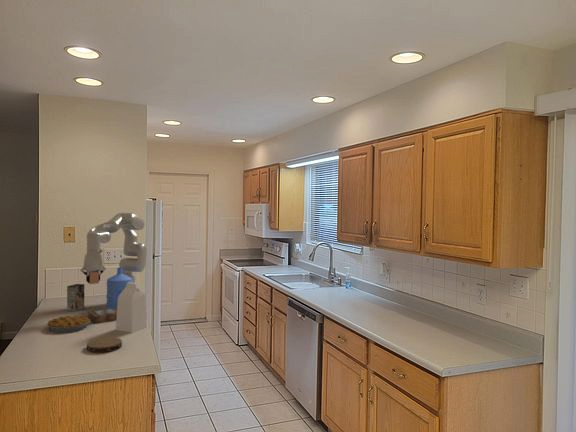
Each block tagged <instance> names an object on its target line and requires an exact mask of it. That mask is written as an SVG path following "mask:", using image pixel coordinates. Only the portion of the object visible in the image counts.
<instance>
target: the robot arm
mask: <svg viewBox="0 0 576 432" xmlns="http://www.w3.org/2000/svg"><path fill="white" fill-rule="evenodd" d="M144 228H145V221H144V219H143V218H142V217H141V216H139V215H137V214H136V213H131V212H118V213H117V214H115V215H114V216H113V217H112V218H111V219H109V220H108V221H106V222H103V223H100V224H97V225H95V226H94V227H92V228H91V229H89V231H88V232H87V234H86V254H85V255H84V260H83V266H82V267H81V268H80V270H79V271H80V272H82V274H84V275H85V276H86V278H85V279H86V282H87V283H88V284H89V282H90V276H89V273H90V271H98V272H99V281H100V280H101V275H102V273H104V272H105V271H106V270H107V268H106V267H105V265H104V264H103V256H102V254H101V253H103V251H104V250H103V249H101V244H106V243H109V242H110V241H111V239H112V234H114V233H117V232H118V231H119V230H121V229H122V231H123V235H124V243H123V254H124V256H126V257H124V258H122V259H120V261H119V264H118V265H119V267H118V268H122V274H123V275H126V276H128V277H130V278H132V283H136V278H135V277H136V276H135V274H134V273H142V272H143V271H144V270H145V266H146V261H147V253H148V250H147V246H146V244H145V243H141V242H138V234H137V232H136V231H142V230H143V229H144ZM134 257H135V258H134Z"/></svg>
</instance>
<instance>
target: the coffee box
mask: <svg viewBox="0 0 576 432" xmlns="http://www.w3.org/2000/svg"><path fill="white" fill-rule="evenodd" d="M84 308H85V284H82V283H75V284H71V285H67V286H66V310H67V311H69V312H78V311H80V310H82V309H84Z"/></svg>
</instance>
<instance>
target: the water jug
mask: <svg viewBox="0 0 576 432" xmlns="http://www.w3.org/2000/svg"><path fill="white" fill-rule="evenodd" d="M129 282H130V283H132V278H130V277H128V276H126V275H123V274H122V268H120V267H117V268H116V274H115V275H112V276H110V277H107V280H106V307H105V309H112V308H115V309H117V304H118V296H119V295H120V294H121V292H122V291H123V290H124V289H125V288H126V285H127V283H129Z"/></svg>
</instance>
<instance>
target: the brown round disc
mask: <svg viewBox="0 0 576 432" xmlns="http://www.w3.org/2000/svg"><path fill="white" fill-rule="evenodd" d="M122 340H123V339H121V338H119V337H115V336H114V337H112V336H109V337H108V336H105V337H98V338H93V339H91V340H89V341H88V342H87V343H86V351H87V352H90V353H92V354H104V353H112V352H115V351H116V352H117V351H118V350H119V349H122V346H123V345H122V344H123V341H122Z"/></svg>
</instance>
